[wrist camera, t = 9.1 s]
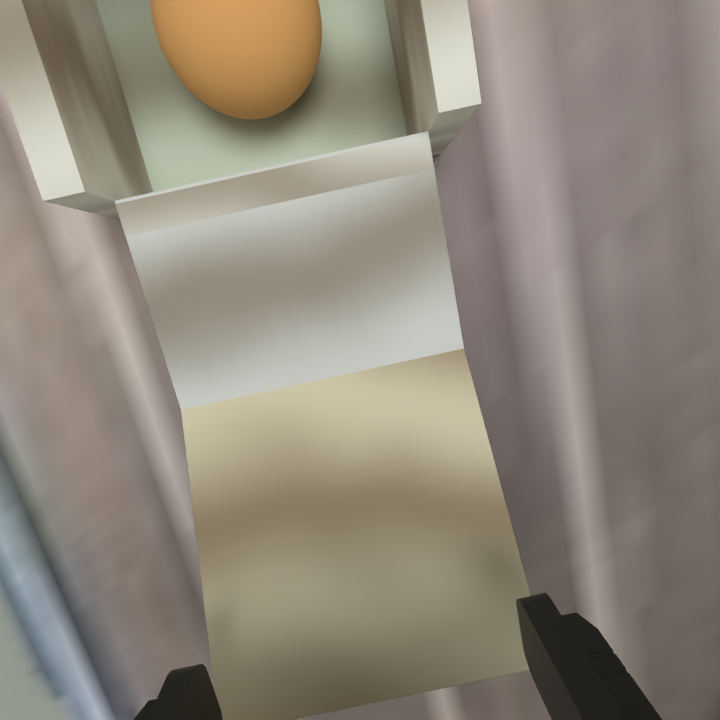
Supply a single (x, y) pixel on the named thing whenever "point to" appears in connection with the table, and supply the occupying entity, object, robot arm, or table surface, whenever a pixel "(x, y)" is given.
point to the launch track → (299, 340)
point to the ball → (241, 51)
